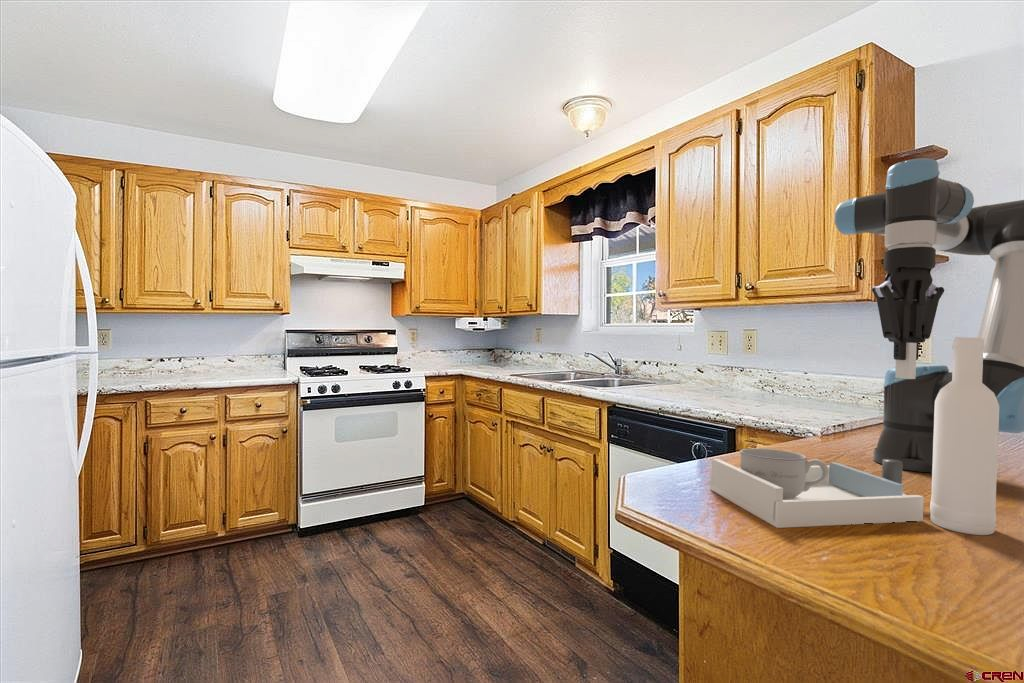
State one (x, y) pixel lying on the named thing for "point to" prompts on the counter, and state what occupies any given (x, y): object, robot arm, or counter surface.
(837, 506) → the tray
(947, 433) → the bottle
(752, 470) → the teacup
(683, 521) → the counter surface
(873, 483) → the blue-grey panel and knob
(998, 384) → the robot arm
